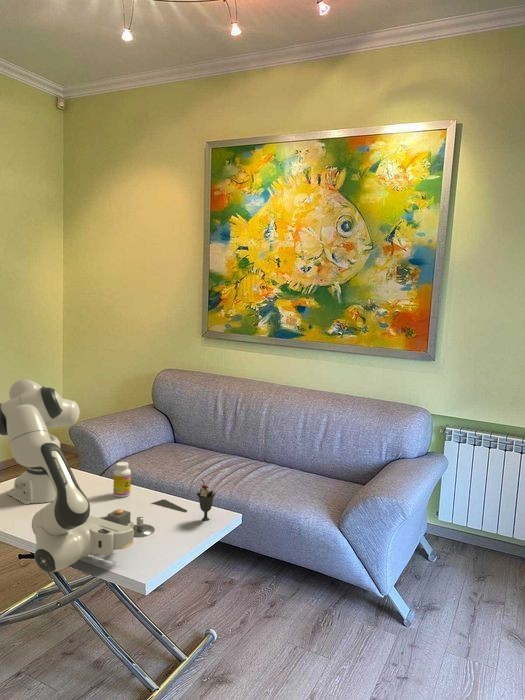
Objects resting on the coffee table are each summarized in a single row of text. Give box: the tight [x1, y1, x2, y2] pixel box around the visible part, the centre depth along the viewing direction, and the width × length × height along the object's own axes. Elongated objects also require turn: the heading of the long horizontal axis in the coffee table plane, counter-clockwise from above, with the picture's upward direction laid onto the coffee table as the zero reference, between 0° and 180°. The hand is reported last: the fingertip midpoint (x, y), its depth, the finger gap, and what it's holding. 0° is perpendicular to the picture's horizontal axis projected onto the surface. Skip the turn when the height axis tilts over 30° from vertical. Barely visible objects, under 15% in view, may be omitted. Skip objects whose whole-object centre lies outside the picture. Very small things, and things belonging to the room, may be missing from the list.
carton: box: [107, 508, 131, 526], centre depth 163 cm, size 5×5×11 cm
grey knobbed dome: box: [133, 516, 156, 538], centre depth 172 cm, size 10×10×5 cm
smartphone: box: [150, 499, 188, 513], centre depth 193 cm, size 7×1×15 cm
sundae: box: [196, 479, 216, 522], centre depth 182 cm, size 7×7×15 cm
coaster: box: [118, 539, 134, 550], centre depth 164 cm, size 9×9×1 cm
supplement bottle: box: [112, 461, 132, 498], centre depth 204 cm, size 7×7×13 cm
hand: (120, 520), depth 163 cm, fingers open, 8 cm apart
